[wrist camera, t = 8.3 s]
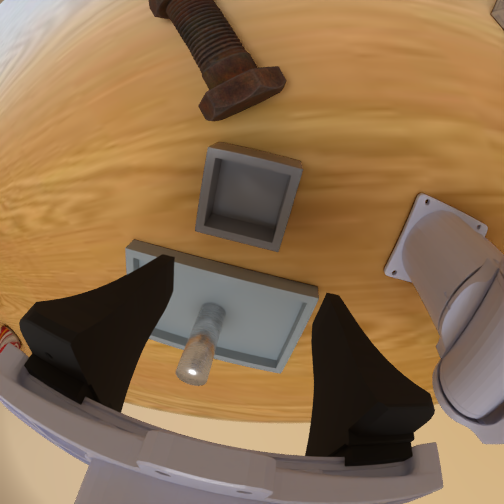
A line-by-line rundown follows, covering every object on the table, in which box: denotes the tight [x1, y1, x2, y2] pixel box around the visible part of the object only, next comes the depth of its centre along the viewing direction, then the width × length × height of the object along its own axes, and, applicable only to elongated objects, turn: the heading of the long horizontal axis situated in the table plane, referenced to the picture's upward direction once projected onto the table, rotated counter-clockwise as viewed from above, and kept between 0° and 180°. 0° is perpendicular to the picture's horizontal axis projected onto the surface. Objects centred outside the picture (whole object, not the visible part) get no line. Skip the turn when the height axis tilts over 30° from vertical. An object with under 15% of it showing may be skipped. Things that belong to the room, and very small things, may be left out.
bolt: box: [149, 0, 286, 121], centre depth 13 cm, size 6×5×15 cm
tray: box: [126, 240, 319, 373], centre depth 26 cm, size 18×12×2 cm, turn 78°
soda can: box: [0, 326, 21, 353], centre depth 37 cm, size 7×7×12 cm
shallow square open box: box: [195, 142, 303, 252], centre depth 19 cm, size 6×6×3 cm
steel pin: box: [176, 303, 226, 386], centre depth 23 cm, size 3×3×8 cm
